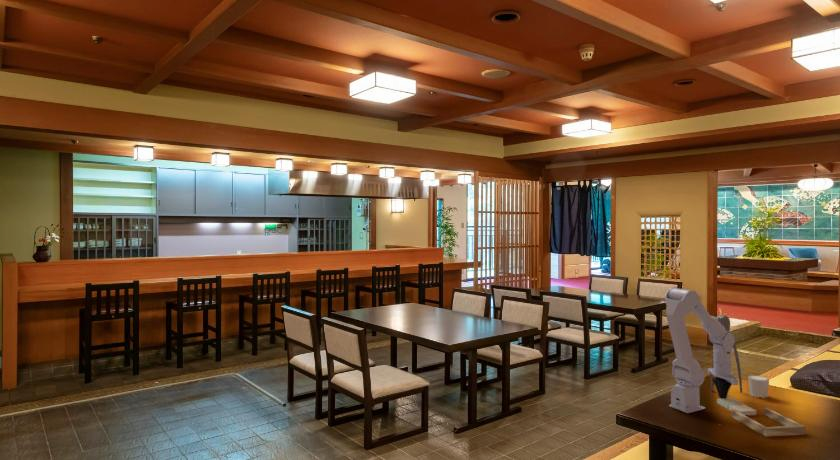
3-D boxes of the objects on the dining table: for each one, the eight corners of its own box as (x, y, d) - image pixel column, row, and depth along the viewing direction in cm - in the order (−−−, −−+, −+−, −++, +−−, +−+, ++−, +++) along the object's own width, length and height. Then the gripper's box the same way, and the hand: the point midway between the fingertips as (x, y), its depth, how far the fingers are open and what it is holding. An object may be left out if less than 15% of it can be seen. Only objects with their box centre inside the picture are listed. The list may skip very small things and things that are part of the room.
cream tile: (728, 410, 185) (728, 405, 185) (744, 409, 185) (744, 404, 185) (740, 417, 179) (740, 411, 179) (756, 416, 179) (756, 410, 179)
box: (731, 416, 178) (731, 409, 178) (767, 414, 179) (767, 407, 179) (765, 436, 162) (765, 428, 162) (805, 434, 163) (805, 426, 163)
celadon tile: (717, 404, 191) (717, 398, 191) (732, 403, 191) (732, 398, 191) (727, 410, 185) (727, 404, 185) (743, 409, 185) (743, 403, 185)
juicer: (742, 392, 201) (741, 317, 200) (711, 391, 203) (710, 316, 202) (732, 384, 210) (732, 312, 210) (703, 383, 213) (702, 312, 212)
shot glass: (768, 394, 199) (768, 376, 198) (769, 400, 193) (769, 381, 193) (748, 391, 202) (747, 374, 202) (748, 396, 196) (748, 379, 196)
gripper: (746, 367, 185) (746, 404, 185) (719, 356, 199) (720, 390, 200) (727, 368, 185) (727, 405, 185) (702, 357, 199) (702, 391, 199)
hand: (722, 397), depth 192 cm, fingers closed
